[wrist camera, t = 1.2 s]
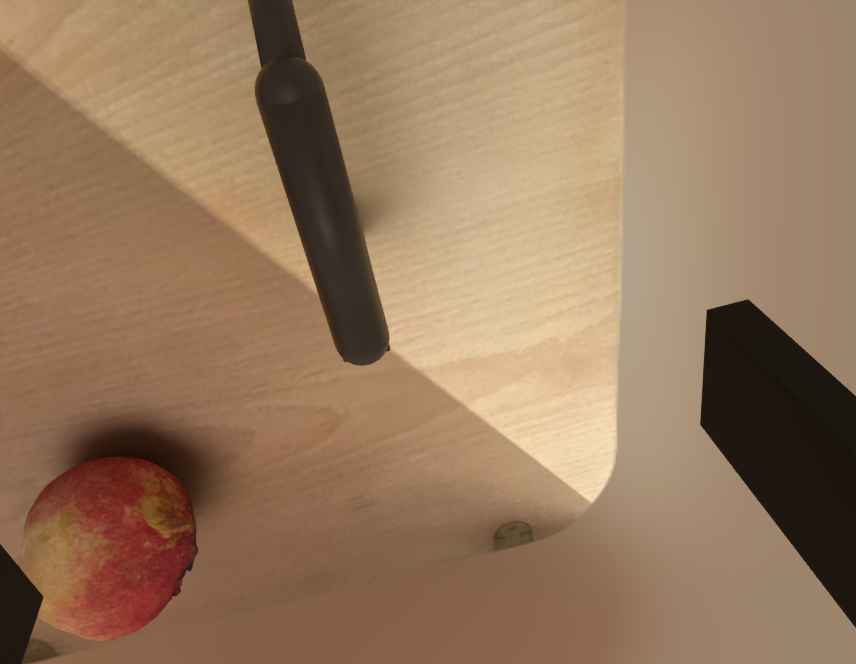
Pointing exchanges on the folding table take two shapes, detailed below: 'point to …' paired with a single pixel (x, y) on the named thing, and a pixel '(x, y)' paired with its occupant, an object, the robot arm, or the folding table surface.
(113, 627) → the fruit
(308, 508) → the folding table surface
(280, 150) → the ladle
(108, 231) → the folding table surface
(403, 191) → the folding table surface
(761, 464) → the robot arm
